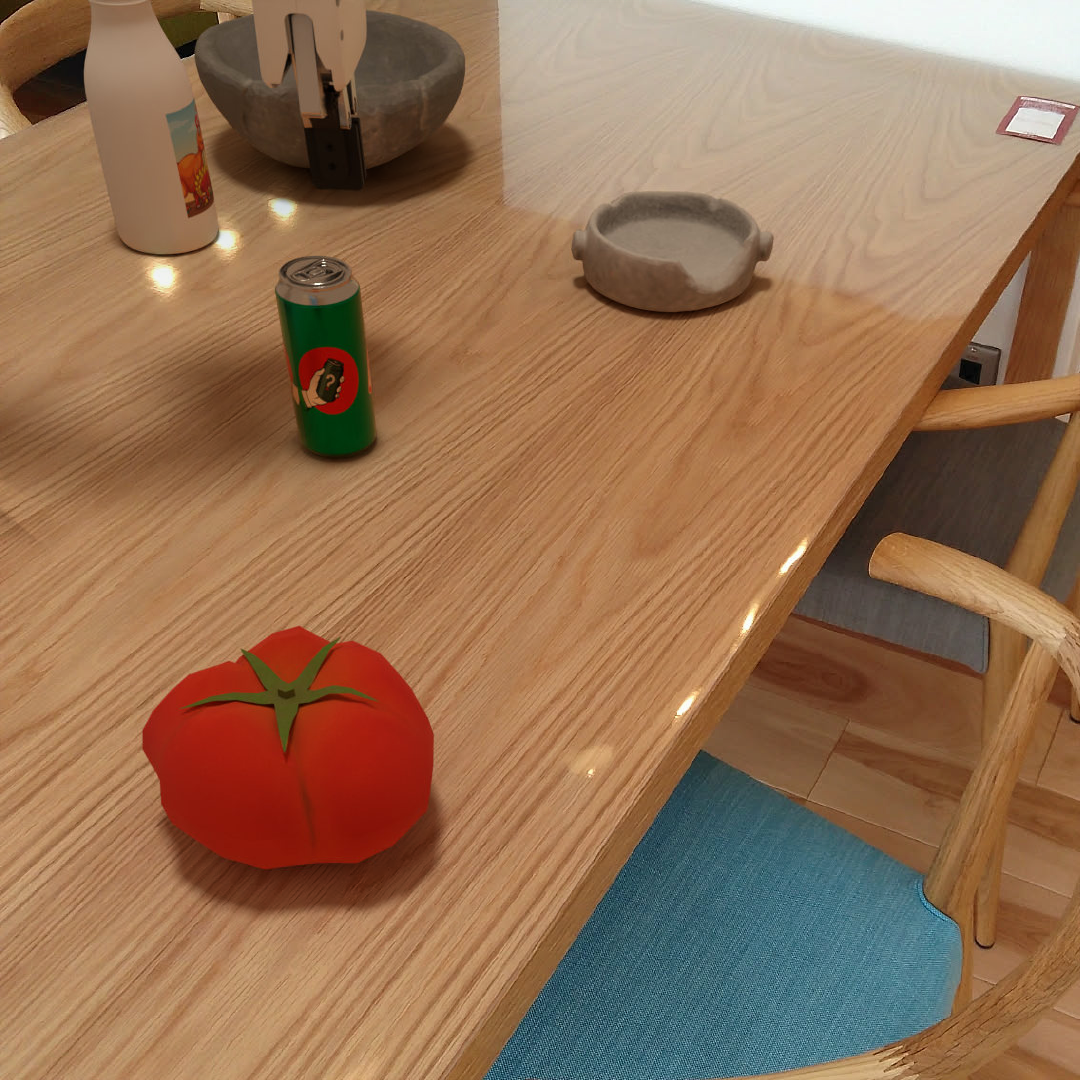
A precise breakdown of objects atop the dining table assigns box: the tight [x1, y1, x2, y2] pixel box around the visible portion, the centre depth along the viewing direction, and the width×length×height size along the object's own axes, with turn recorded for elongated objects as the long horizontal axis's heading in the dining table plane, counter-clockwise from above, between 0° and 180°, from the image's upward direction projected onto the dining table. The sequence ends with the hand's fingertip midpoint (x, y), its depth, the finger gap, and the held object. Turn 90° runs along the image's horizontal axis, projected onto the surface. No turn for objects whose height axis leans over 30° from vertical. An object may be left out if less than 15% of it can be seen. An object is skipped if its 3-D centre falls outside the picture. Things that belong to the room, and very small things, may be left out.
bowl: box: [194, 9, 466, 170], centre depth 122 cm, size 23×22×10 cm
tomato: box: [141, 625, 435, 870], centre depth 66 cm, size 14×13×9 cm
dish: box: [571, 190, 775, 313], centre depth 111 cm, size 14×14×5 cm
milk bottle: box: [83, 0, 220, 255], centre depth 104 cm, size 8×8×20 cm
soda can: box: [274, 255, 378, 459], centre depth 88 cm, size 5×5×12 cm
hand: (340, 183), depth 89 cm, fingers closed
